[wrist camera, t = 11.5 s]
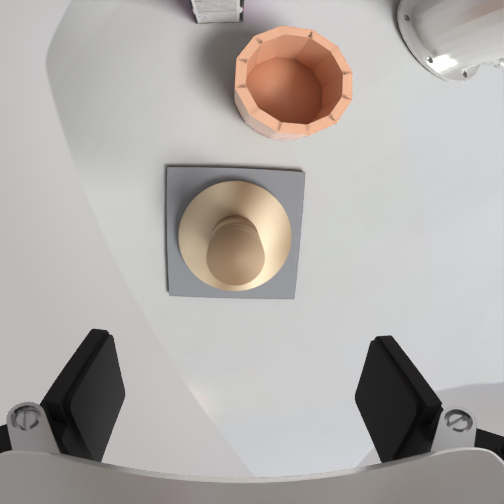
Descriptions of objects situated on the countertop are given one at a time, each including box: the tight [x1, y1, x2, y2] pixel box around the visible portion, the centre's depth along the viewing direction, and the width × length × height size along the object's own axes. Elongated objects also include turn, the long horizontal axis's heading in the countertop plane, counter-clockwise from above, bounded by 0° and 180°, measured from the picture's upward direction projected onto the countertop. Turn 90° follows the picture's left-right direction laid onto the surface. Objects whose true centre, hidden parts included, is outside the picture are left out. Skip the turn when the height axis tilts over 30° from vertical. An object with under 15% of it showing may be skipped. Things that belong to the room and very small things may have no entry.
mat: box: [167, 167, 305, 299], centre depth 31 cm, size 13×13×1 cm
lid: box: [178, 181, 291, 291], centre depth 27 cm, size 11×11×7 cm
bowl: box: [234, 26, 352, 140], centre depth 24 cm, size 9×9×7 cm
